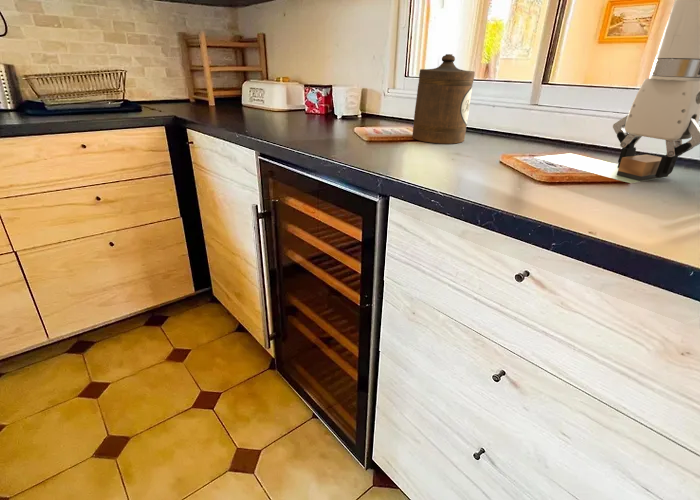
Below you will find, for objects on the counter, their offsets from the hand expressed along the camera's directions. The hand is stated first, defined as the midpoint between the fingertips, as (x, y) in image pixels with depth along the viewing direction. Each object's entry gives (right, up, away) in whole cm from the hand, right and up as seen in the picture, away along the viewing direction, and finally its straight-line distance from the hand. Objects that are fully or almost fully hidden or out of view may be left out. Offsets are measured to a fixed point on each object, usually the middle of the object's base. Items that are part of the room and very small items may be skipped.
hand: (642, 171), depth 77 cm
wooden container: (-31, +17, +38) cm, 52 cm away
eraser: (0, -1, 0) cm, 1 cm away
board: (-4, +2, +8) cm, 9 cm away
